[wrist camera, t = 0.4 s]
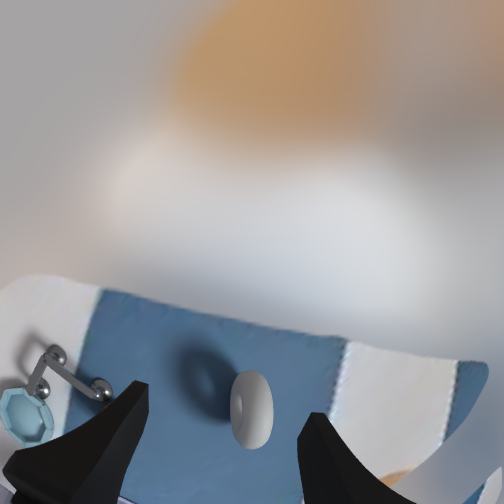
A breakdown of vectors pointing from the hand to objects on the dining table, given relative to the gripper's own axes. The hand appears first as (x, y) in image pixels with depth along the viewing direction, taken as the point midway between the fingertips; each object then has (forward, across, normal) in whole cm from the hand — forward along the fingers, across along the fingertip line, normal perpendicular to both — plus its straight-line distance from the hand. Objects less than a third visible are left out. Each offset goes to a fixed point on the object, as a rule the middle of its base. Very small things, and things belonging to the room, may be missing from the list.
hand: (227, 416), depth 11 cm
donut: (+20, -3, +19) cm, 28 cm away
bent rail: (+14, +19, +20) cm, 31 cm away
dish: (+10, +25, +25) cm, 36 cm away
